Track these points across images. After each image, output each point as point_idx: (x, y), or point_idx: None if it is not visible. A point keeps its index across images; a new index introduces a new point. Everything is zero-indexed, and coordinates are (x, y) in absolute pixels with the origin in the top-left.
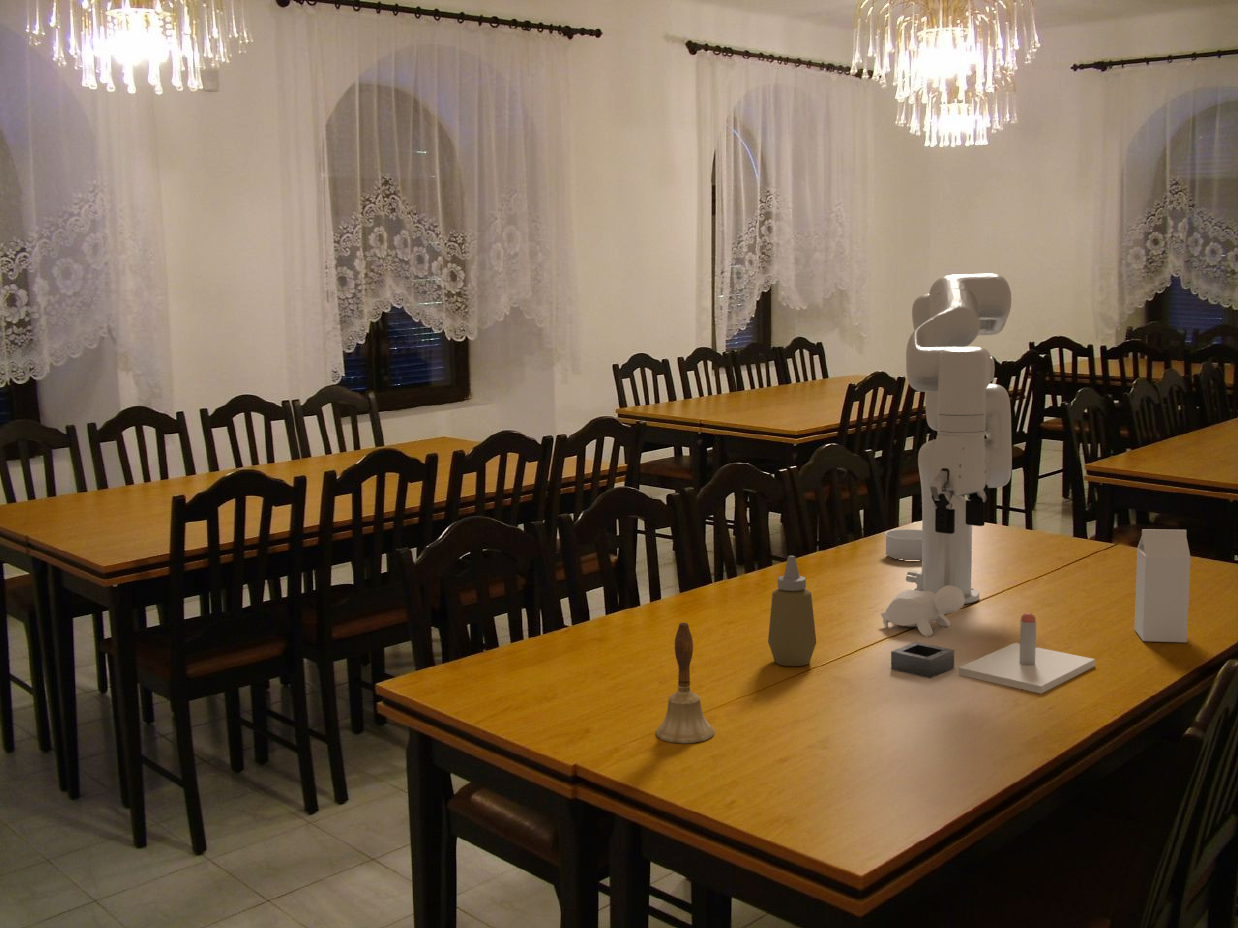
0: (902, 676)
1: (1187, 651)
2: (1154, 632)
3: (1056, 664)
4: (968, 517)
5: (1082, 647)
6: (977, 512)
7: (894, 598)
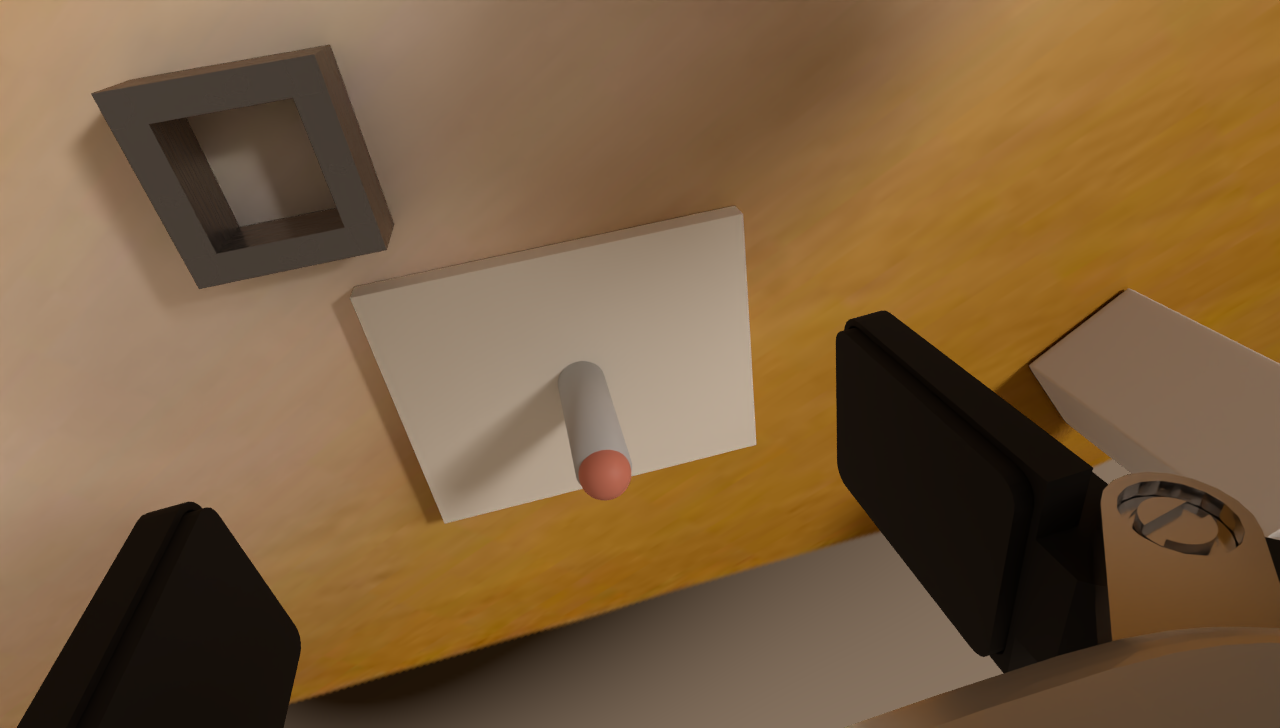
0: (127, 180)
1: None
2: (1056, 394)
3: (637, 427)
4: (878, 393)
5: (889, 309)
6: (912, 531)
7: None
